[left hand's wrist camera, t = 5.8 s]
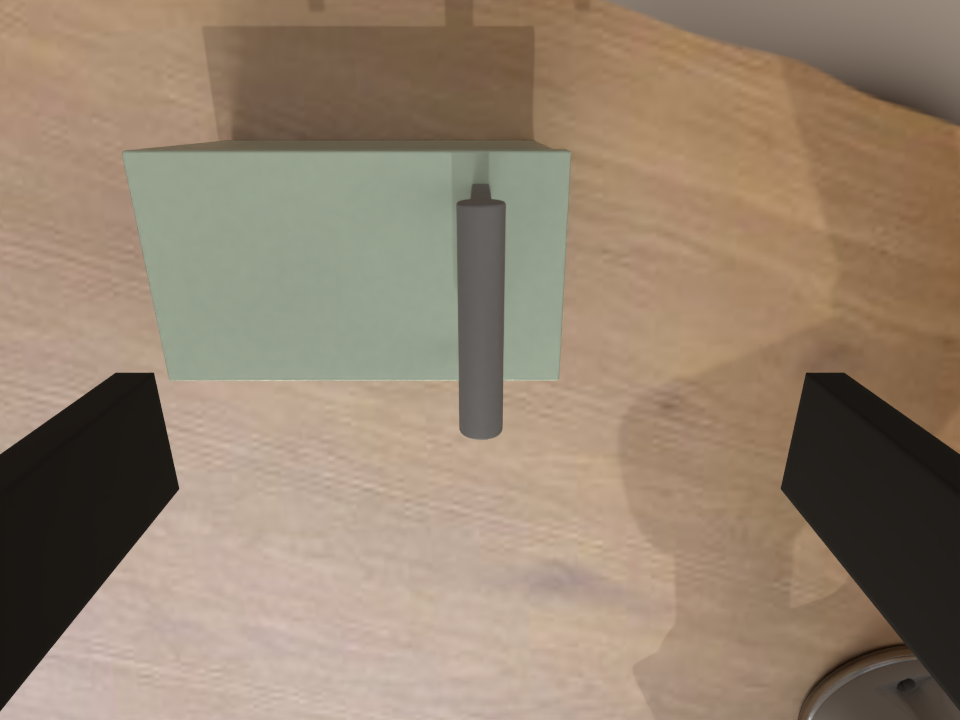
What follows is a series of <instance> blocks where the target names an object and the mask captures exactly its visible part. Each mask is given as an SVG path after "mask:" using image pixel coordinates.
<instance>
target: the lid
mask: <svg viewBox="0 0 960 720" xmlns="http://www.w3.org/2000/svg"><path fill="white" fill-rule="evenodd" d="M122 156H123V161H124V165H125V170H126V175H127V180H128V184H129V189H130V194H131V199H132V204H133V208H134V213H135V218H136V223H137V227H138V232H139V237H140V242H141V247H142V251H143V256H144V261H145V266H146V270H147V275H148V280H149V285H150V290H151V294H152V299H153V304H154V309H155V313H156V318H157V323H158V328H159V333H160V337H161V342H162V347H163V352H164V356H165V361H166V366H167V371H168V376H169V380H170V381H459V426H460V431H461V433H462V434H463V435H464V436H466V437H468V438H471V439H476V440H486V439H491V438H494V437H496V436H498V435H499V434H500V433H501V431H502V424H503V381H557V380H559V371H560V353H561V334H562V315H563V296H564V277H565V259H566V240H567V221H568V202H569V184H570V165H571V151H568V150H566V149H137V150H126V151H122Z"/></svg>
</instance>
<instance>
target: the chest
mask: <svg viewBox="0 0 960 720" xmlns="http://www.w3.org/2000/svg"><path fill="white" fill-rule="evenodd" d="M147 149H551V148H549V147H547V146H545V145H542V144H540V143H538V142H536V141H534V140H227V141H218V142H207V143H197V144H187V145H177V146H167V147H157V148H147Z"/></svg>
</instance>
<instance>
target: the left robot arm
mask: <svg viewBox="0 0 960 720" xmlns="http://www.w3.org/2000/svg"><path fill="white" fill-rule="evenodd" d="M178 490H179V485H178V481H177V476H176V472H175V467H174V463H173V458H172V453H171V449H170V444H169V440H168V435H167V431H166V426H165V421H164V417H163V412H162V408H161V403H160V399H159V394H158V389H157V385H156V380H155V376H154V373H115V374H113V375H112V376H111V377H109V378H108V379H106V380H105V381H103V382H102V383H101V384H99V385H98V386H96V387H95V388H94V389H92V390H91V391H89V392H88V393H86V394H85V395H84V396H82V397H81V398H79V399H78V400H77V401H75V402H74V403H72V404H71V405H69V406H68V407H67V408H65V409H64V410H62V411H61V412H60V413H58V414H57V415H55V416H54V417H52V418H51V419H50V420H48V421H47V422H45V423H44V424H43V425H41V426H40V427H38V428H37V429H35V430H34V431H33V432H31V433H30V434H28V435H27V436H26V437H24V438H23V439H21V440H20V441H18V442H17V443H16V444H14V445H13V446H11V447H10V448H9V449H7V450H6V451H4V452H3V453H2V454H0V711H1V710H2V708H3V707H4V706H5V705H6V703H7V702H8V701H9V700H10V699H11V697H12V696H13V695H14V694H15V692H16V691H17V690H18V689H19V687H20V686H21V685H22V684H23V682H24V681H25V680H26V679H27V677H28V676H29V675H30V674H31V672H32V671H33V670H34V669H35V667H36V666H37V665H38V664H39V662H40V661H41V660H42V659H43V658H44V656H45V655H46V654H47V653H48V651H49V650H50V649H51V648H52V646H53V645H54V644H55V643H56V641H57V640H58V639H59V638H60V636H61V635H62V634H63V633H64V631H65V630H66V629H67V628H68V626H69V625H70V624H71V623H72V622H73V620H74V619H75V618H76V617H77V615H78V614H79V613H80V612H81V610H82V609H83V608H84V607H85V605H86V604H87V603H88V602H89V600H90V599H91V598H92V597H93V595H94V594H95V593H96V592H97V590H98V589H99V588H100V587H101V586H102V584H103V583H104V582H105V581H106V579H107V578H108V577H109V576H110V574H111V573H112V572H113V571H114V569H115V568H116V567H117V566H118V564H119V563H120V562H121V561H122V559H123V558H124V557H125V556H126V554H127V553H128V552H129V551H130V550H131V548H132V547H133V546H134V545H135V543H136V542H137V541H138V540H139V538H140V537H141V536H142V535H143V533H144V532H145V531H146V530H147V528H148V527H149V526H150V525H151V523H152V522H153V521H154V520H155V518H156V517H157V516H158V515H159V514H160V512H161V511H162V510H163V509H164V507H165V506H166V505H167V504H168V502H169V501H170V500H171V499H172V497H173V496H174V495H175V494H176V492H177V491H178ZM781 490H782V491H783V492H784V494H785V495H786V496H787V497H788V499H789V500H790V501H791V502H792V504H793V505H794V506H795V507H796V509H797V510H798V511H799V512H800V514H801V515H802V516H803V517H804V518H805V520H806V521H807V522H808V523H809V525H810V526H811V527H812V528H813V530H814V531H815V532H816V533H817V535H818V536H819V537H820V538H821V540H822V541H823V542H824V543H825V545H826V546H827V547H828V548H829V550H830V551H831V552H832V553H833V554H834V556H835V557H836V558H837V559H838V561H839V562H840V563H841V564H842V566H843V567H844V568H845V569H846V571H847V572H848V573H849V574H850V576H851V577H852V578H853V579H854V581H855V582H856V583H857V584H858V586H859V587H860V588H861V589H862V590H863V592H864V593H865V594H866V595H867V597H868V598H869V599H870V600H871V602H872V603H873V604H874V605H875V607H876V608H877V609H878V610H879V612H880V613H881V614H882V615H883V617H884V618H885V619H886V620H887V622H888V623H889V624H890V625H891V626H892V628H893V629H894V630H895V631H896V633H897V634H898V635H899V636H900V638H901V639H902V640H903V641H904V643H905V644H906V645H905V646H897V647H891V648H886V649H882V650H878V651H874V652H871V653H869V654H866V655H863V656H861V657H858V658H856V659H854V660H852V661H850V662H848V663H846V664H844V665H842V666H841V667H839V668H838V669H836V670H835V671H833V672H832V673H830V674H829V675H828V676H827V677H825V678H824V679H823V680H822V681H821V682H820V683H819V684H818V685H817V686H816V687H815V688H814V689H813V690H812V692H811V693H810V694H809V696H808V697H807V699H806V700H805V702H804V704H803V706H802V708H801V711H800V714H799V718H798V720H960V454H958V453H957V452H956V451H954V450H953V449H951V448H950V447H949V446H947V445H946V444H944V443H943V442H942V441H940V440H939V439H937V438H936V437H934V436H933V435H932V434H930V433H929V432H927V431H926V430H925V429H923V428H922V427H920V426H919V425H917V424H916V423H915V422H913V421H912V420H910V419H909V418H908V417H906V416H905V415H903V414H902V413H900V412H899V411H898V410H896V409H895V408H893V407H892V406H891V405H889V404H888V403H886V402H885V401H883V400H882V399H881V398H879V397H878V396H876V395H875V394H874V393H872V392H871V391H869V390H868V389H866V388H865V387H864V386H862V385H861V384H859V383H858V382H857V381H855V380H854V379H852V378H851V377H849V376H848V375H847V374H845V373H806V376H805V380H804V385H803V389H802V394H801V399H800V403H799V408H798V412H797V417H796V421H795V426H794V431H793V435H792V440H791V444H790V449H789V453H788V458H787V463H786V467H785V472H784V476H783V481H782V485H781Z"/></svg>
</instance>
